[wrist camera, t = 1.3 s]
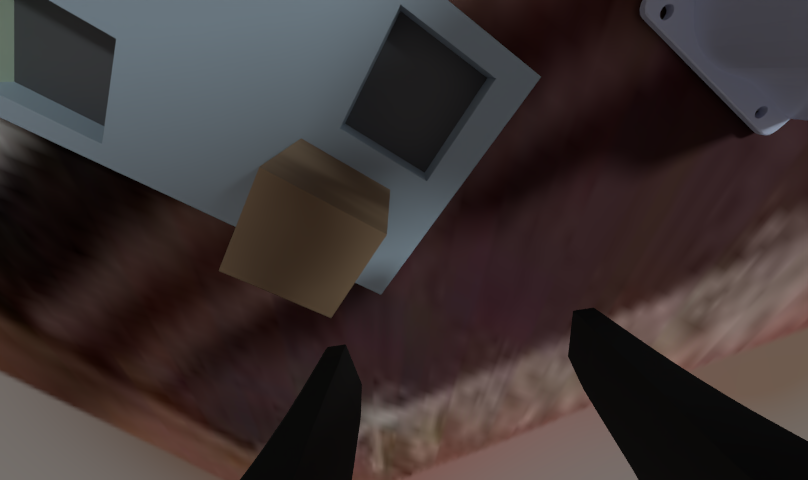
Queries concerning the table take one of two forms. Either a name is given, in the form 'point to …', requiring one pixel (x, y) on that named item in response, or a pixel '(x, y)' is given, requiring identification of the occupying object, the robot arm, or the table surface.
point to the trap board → (265, 95)
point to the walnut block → (308, 228)
